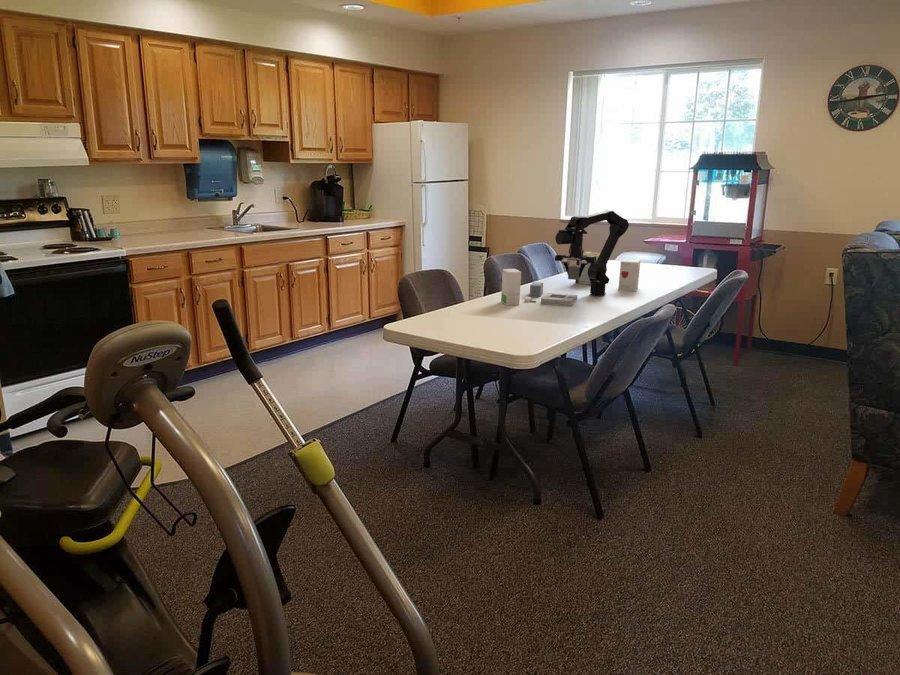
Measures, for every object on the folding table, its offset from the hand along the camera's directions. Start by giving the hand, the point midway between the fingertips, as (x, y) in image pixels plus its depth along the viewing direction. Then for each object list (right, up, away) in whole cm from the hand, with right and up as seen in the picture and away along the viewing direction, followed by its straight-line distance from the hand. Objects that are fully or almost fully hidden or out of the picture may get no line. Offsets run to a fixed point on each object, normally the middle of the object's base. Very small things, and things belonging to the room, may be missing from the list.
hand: (574, 276), depth 309 cm
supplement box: (+32, -5, +23) cm, 40 cm away
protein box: (+16, 0, +41) cm, 44 cm away
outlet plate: (-8, -13, -8) cm, 17 cm away
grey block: (0, -1, 0) cm, 1 cm away
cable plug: (-22, -12, -7) cm, 26 cm away
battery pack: (-17, -8, +8) cm, 21 cm away
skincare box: (-31, -14, -11) cm, 36 cm away
